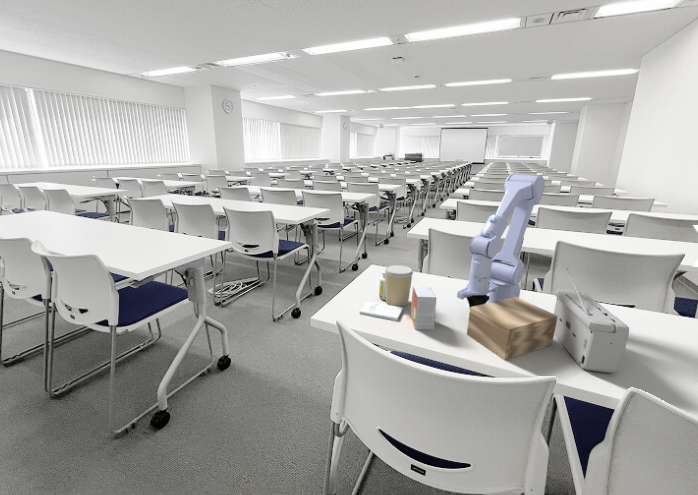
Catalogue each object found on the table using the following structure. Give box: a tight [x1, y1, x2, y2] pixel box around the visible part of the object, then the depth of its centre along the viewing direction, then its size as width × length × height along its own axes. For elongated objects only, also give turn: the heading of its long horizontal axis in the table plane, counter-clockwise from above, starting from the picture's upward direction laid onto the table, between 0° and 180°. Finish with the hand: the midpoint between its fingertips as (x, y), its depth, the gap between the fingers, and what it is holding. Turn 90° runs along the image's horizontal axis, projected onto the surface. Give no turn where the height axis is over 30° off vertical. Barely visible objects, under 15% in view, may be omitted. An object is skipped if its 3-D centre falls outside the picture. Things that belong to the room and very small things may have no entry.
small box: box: [410, 285, 437, 331], centre depth 98 cm, size 8×6×10 cm
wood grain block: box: [466, 297, 558, 361], centre depth 90 cm, size 18×13×9 cm
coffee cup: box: [384, 264, 413, 307], centre depth 112 cm, size 9×9×12 cm
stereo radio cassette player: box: [553, 267, 630, 374], centre depth 84 cm, size 21×8×20 cm, turn 170°
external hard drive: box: [359, 301, 404, 322], centre depth 106 cm, size 2×8×12 cm
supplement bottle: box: [378, 269, 386, 301], centre depth 115 cm, size 5×5×10 cm
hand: (474, 315), depth 102 cm, fingers closed
